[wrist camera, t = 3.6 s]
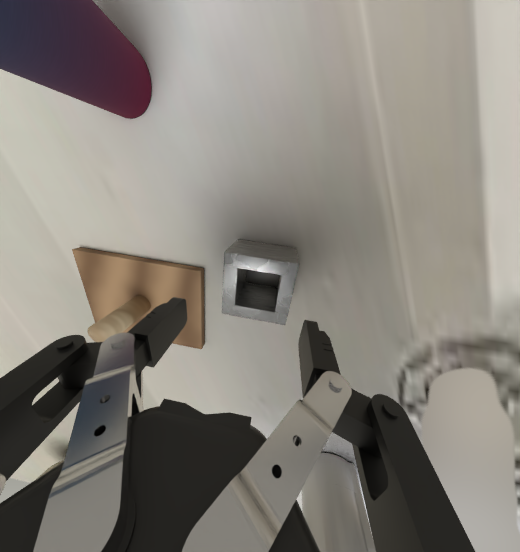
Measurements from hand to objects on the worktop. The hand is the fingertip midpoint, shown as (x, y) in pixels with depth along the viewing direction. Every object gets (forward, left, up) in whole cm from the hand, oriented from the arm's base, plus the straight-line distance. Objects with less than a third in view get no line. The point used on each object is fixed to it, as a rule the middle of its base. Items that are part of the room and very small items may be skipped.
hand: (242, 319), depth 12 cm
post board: (+15, +7, -9) cm, 19 cm away
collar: (0, 0, -9) cm, 9 cm away
